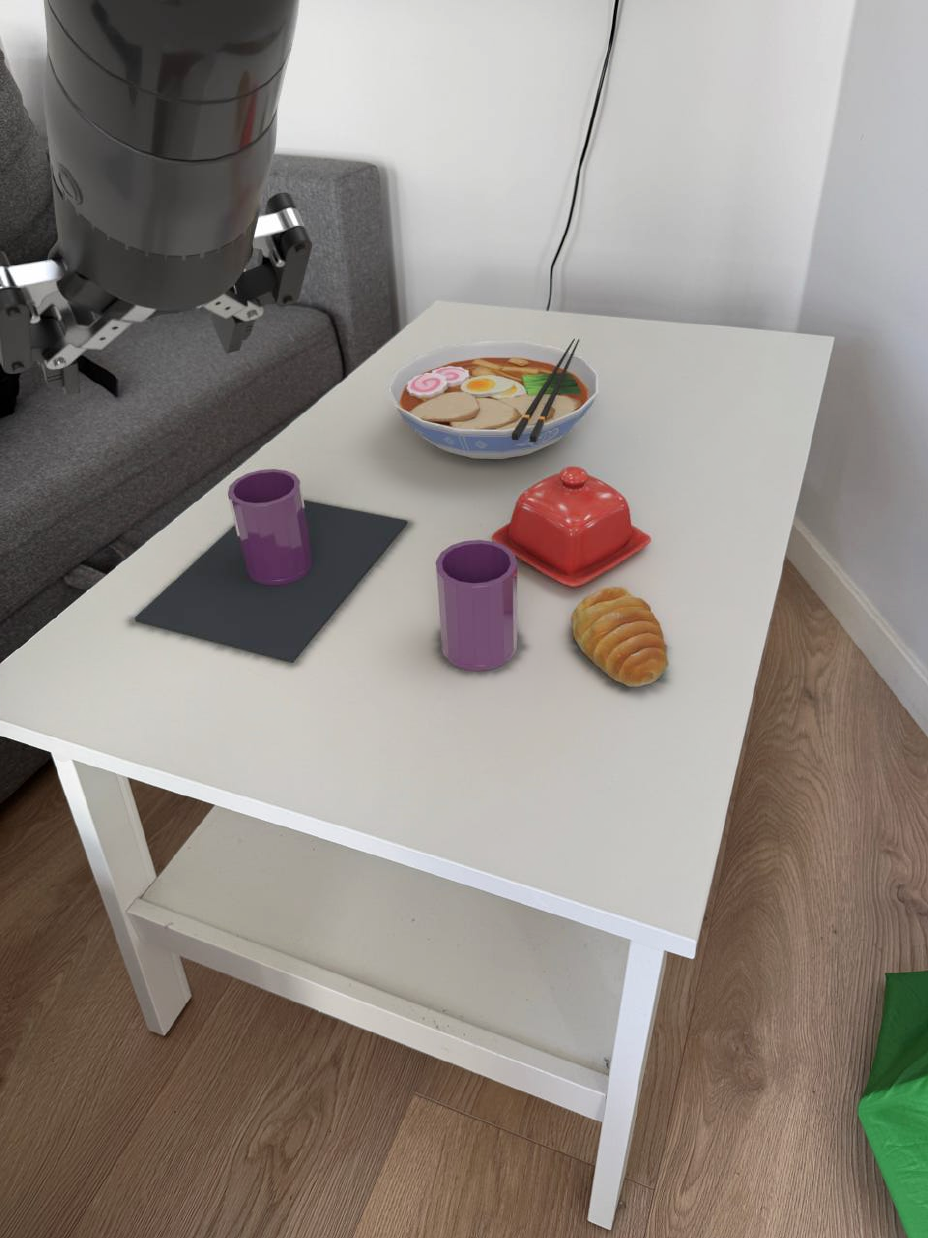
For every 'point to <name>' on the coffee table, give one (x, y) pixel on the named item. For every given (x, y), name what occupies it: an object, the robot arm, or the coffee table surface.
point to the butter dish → (571, 527)
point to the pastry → (620, 636)
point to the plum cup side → (477, 604)
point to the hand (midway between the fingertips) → (147, 356)
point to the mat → (274, 615)
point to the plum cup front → (271, 526)
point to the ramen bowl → (494, 396)
